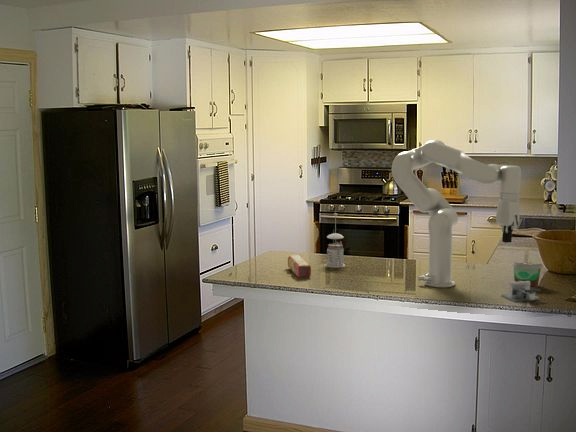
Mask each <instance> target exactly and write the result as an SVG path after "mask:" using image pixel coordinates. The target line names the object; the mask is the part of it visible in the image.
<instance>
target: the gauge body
mask: <svg viewBox="0 0 576 432" xmlns="http://www.w3.org/2000/svg"><path fill="white" fill-rule="evenodd" d="M529 293H531V294H534V293H535V292H529ZM534 295H535V294H534ZM501 297H502V298H504V299H507V300H509V301H512V302H514V303H517V302H518V303H519V302H530V301H532V302H533V301H540V297H539V296H537V295H535V300H529V299H527V298H524V293H522V292H520V291H517V293H516V295H510V293H502V294H501Z"/></svg>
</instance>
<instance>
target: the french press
mask: <svg viewBox="0 0 576 432" xmlns="http://www.w3.org/2000/svg"><path fill="white" fill-rule="evenodd" d="M338 215H339V214H338V213H336V212H334V213H333V216H335V217H334V218H335V219H334V220H335V222H334V224H335V225H334V229H335V230H334V232H333V233H331V234H330V233H329V234H328V235H327V236H326V238H327V239H330V240H334V243H329V244H327V246H328V247H327V249H326V263H325V265H324V266H325V267H327V268H343V267H346V264H345V263H344V247H343V246H344V245H343V243H342V241H341V239H342V240H343V239H344V238H345V237H344V236H343V235H342V234H340V233H337V232H336V231H337V226H336V225H337V219H336V218H337V217H338ZM337 240H340V241H339V242H338V243H337Z"/></svg>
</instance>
